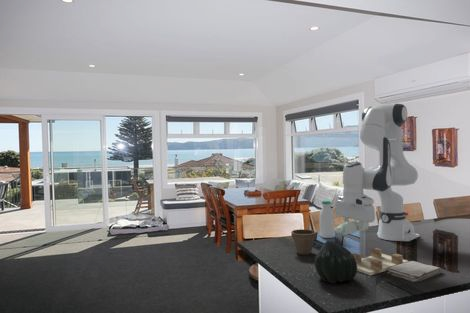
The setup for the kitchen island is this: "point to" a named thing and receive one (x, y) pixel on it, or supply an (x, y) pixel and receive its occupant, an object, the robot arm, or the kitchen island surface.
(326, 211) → the milk bottle
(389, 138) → the robot arm
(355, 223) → the ceramic bottle
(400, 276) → the washcloth
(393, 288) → the kitchen island surface
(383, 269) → the board
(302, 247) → the flower pot
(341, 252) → the squash
